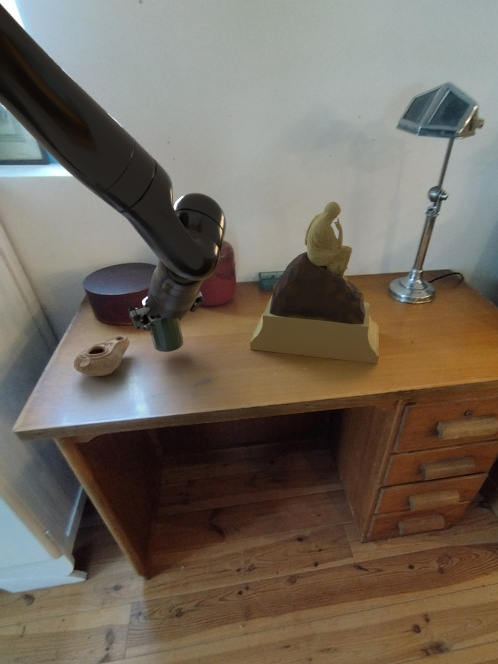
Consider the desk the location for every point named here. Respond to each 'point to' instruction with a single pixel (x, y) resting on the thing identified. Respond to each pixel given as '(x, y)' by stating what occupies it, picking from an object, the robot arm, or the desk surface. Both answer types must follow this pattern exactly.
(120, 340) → the pottery oil lamp
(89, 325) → the desk surface
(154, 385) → the desk surface
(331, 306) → the seated thinker statue
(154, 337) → the pot
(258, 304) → the desk surface
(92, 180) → the robot arm
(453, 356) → the desk surface
